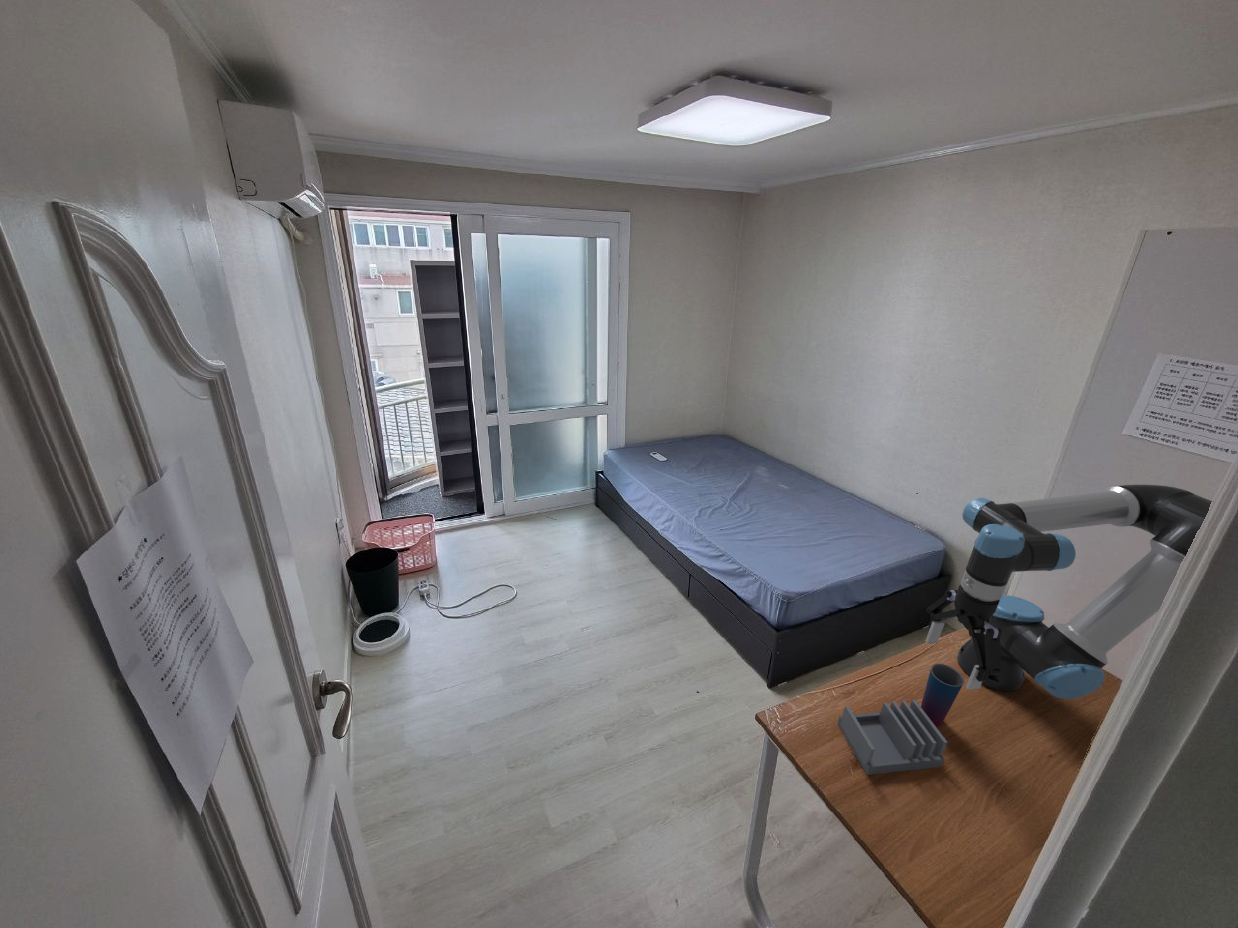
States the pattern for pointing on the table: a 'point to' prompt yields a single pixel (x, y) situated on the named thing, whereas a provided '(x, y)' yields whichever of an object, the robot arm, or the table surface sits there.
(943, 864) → the table surface
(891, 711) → the rack
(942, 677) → the cup
